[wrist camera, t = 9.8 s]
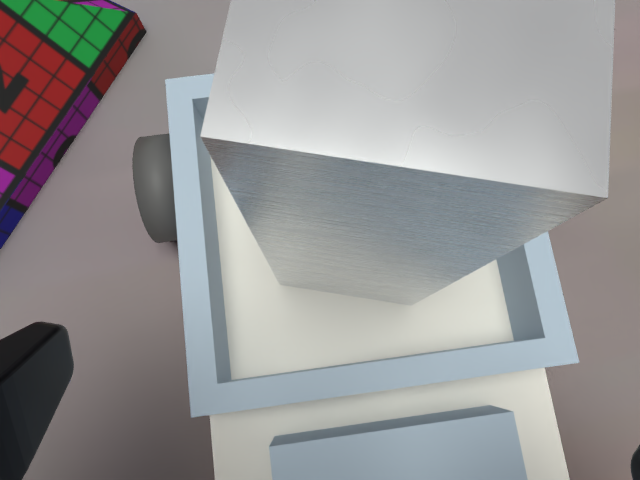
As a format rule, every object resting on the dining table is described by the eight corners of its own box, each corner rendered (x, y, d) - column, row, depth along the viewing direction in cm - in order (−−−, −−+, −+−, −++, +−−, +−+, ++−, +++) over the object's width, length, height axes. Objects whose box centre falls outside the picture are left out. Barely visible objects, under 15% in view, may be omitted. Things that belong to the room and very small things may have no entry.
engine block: (411, 305, 17) (607, 197, 6) (279, 284, 17) (200, 136, 6) (426, 180, 18) (619, -137, 7) (301, 161, 18) (272, -181, 7)
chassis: (635, 670, 16) (724, 758, 12) (205, 740, 16) (172, 852, 12) (499, 90, 20) (537, 34, 17) (161, 132, 20) (127, 83, 16)
